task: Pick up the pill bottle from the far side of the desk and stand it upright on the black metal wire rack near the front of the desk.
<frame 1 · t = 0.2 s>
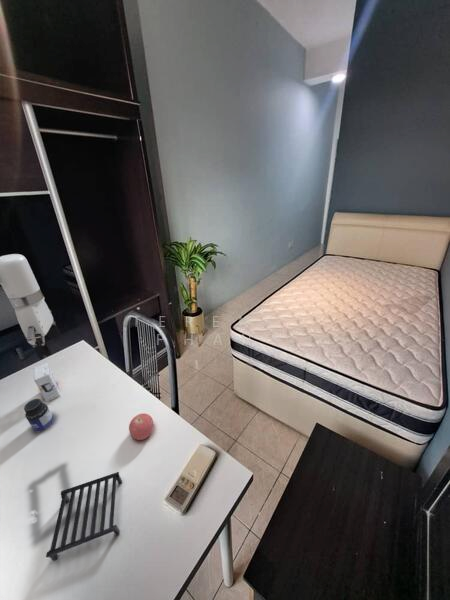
hand: (50, 345, 78), 29 cm above the table, tool pointing down, fingers open, 9 cm apart
pill bottle: (45, 426, 86), on the table
wire rack: (92, 518, 62), on the table
ink box: (52, 392, 99), on the table
apple: (144, 434, 81), on the table
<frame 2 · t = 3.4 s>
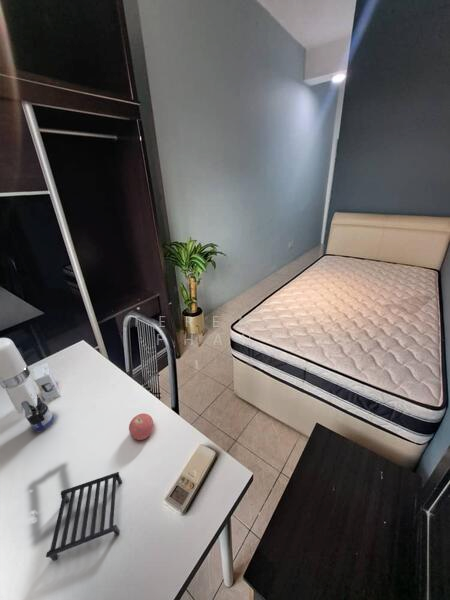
hand: (38, 414, 83), 6 cm above the table, tool pointing down, fingers closed on pill bottle, 6 cm apart
pill bottle: (45, 426, 86), on the table, touching gripper
everything else where it was.
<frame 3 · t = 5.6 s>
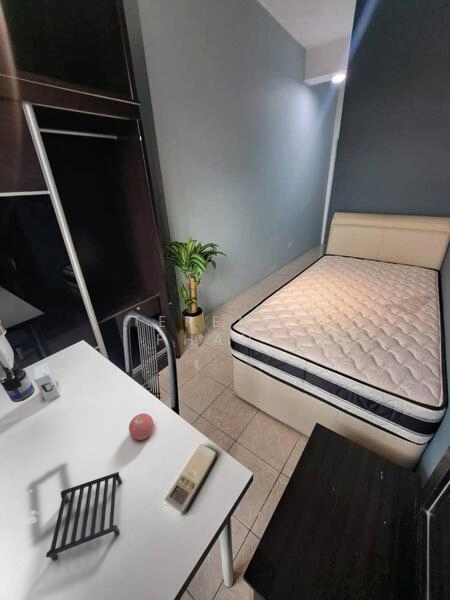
hand: (15, 380, 75), 22 cm above the table, tool pointing down, fingers closed on pill bottle, 6 cm apart
pill bottle: (24, 395, 77), point 16 cm above the table, touching gripper
everything else where it was.
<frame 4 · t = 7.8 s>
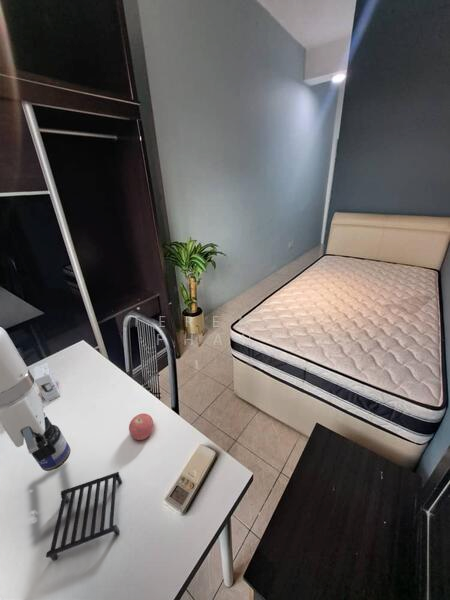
hand: (46, 442, 55), 24 cm above the table, tool pointing down, fingers closed on pill bottle, 6 cm apart
pill bottle: (57, 458, 58), point 18 cm above the table, touching gripper
everything else where it was.
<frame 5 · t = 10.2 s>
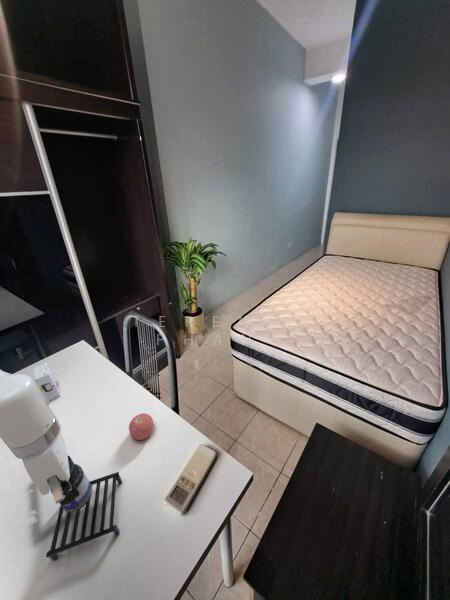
hand: (69, 483, 54), 17 cm above the table, tool pointing down, fingers closed on pill bottle, 6 cm apart
pill bottle: (78, 497, 57), point 11 cm above the table, touching gripper
everything else where it was.
when the fingers open (11 cm above the table, at t = 12.3 s): pill bottle stays where it is, resting on wire rack.
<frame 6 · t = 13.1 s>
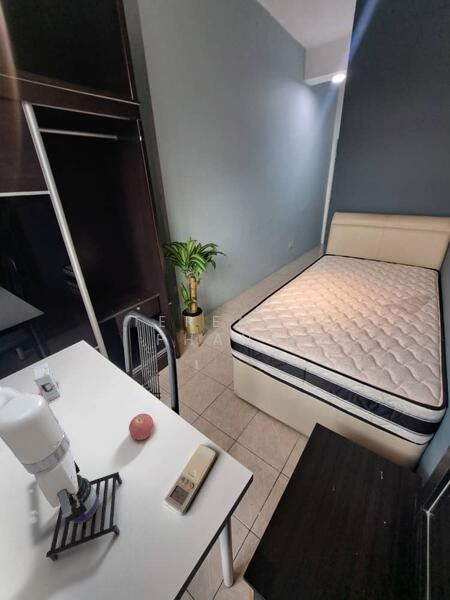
hand: (75, 493, 56), 13 cm above the table, tool pointing down, fingers open, 9 cm apart
pill bottle: (86, 509, 60), point 5 cm above the table, touching wire rack
everything else where it was.
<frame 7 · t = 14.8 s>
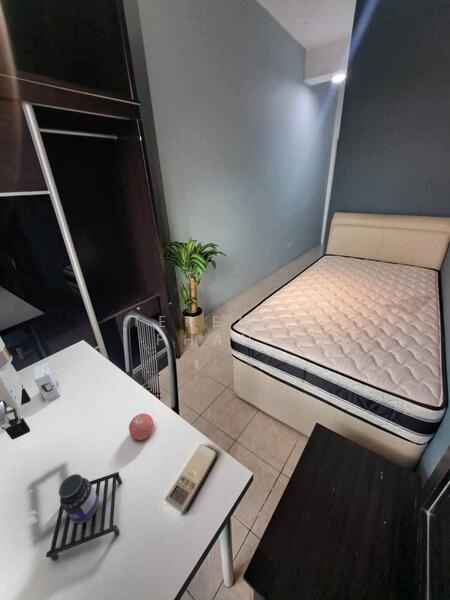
hand: (22, 418, 56), 28 cm above the table, tool pointing down, fingers open, 9 cm apart
nothing on the table moved.
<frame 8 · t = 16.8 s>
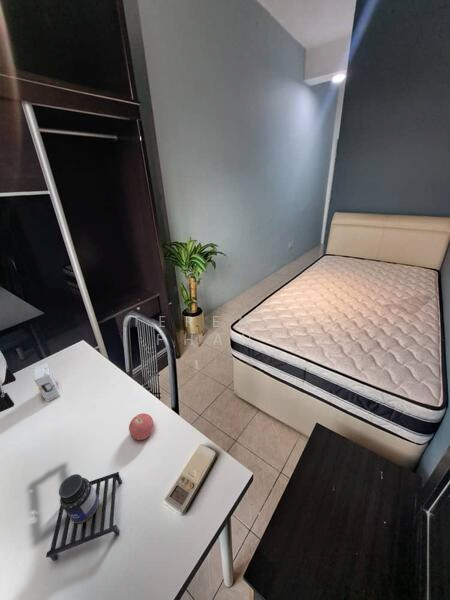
hand: (7, 395, 60), 30 cm above the table, tool pointing down, fingers open, 9 cm apart
nothing on the table moved.
at the end: pill bottle inside the target area on the wire rack (0.1 cm from its centre), point 4.8 cm above the wire rack's base; pill bottle tilted 0°; the gripper is holding nothing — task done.
